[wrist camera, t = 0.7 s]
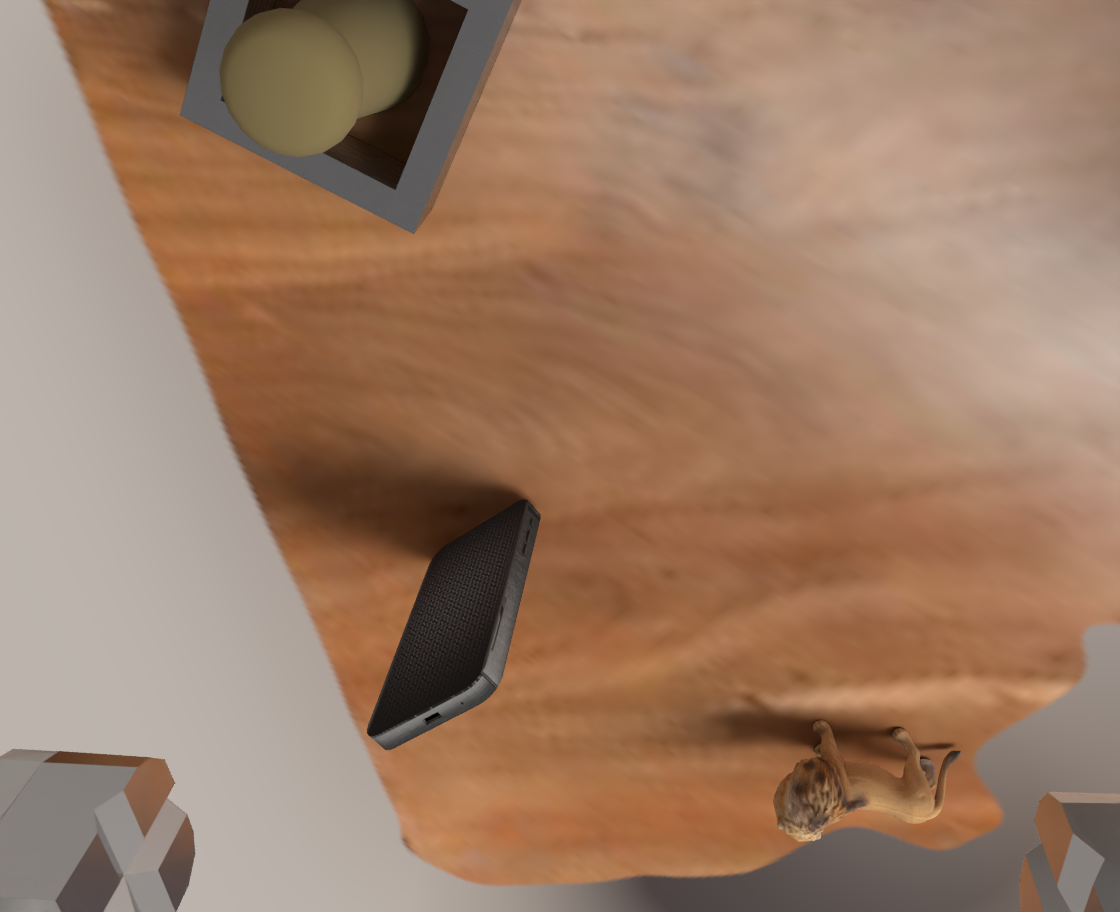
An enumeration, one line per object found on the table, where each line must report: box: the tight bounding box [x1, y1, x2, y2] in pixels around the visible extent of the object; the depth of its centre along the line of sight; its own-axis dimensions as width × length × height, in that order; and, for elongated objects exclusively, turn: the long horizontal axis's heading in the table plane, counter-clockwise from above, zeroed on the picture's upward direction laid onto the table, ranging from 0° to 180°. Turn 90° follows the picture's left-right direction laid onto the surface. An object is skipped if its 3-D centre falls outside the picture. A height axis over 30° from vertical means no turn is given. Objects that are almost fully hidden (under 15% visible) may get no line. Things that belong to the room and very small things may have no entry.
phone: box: [367, 500, 541, 750], centre depth 52 cm, size 8×1×15 cm, turn 129°
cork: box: [219, 0, 429, 157], centre depth 40 cm, size 6×6×11 cm
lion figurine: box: [773, 720, 961, 842], centre depth 61 cm, size 12×4×7 cm, turn 95°
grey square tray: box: [180, 0, 521, 234], centre depth 43 cm, size 11×11×4 cm
